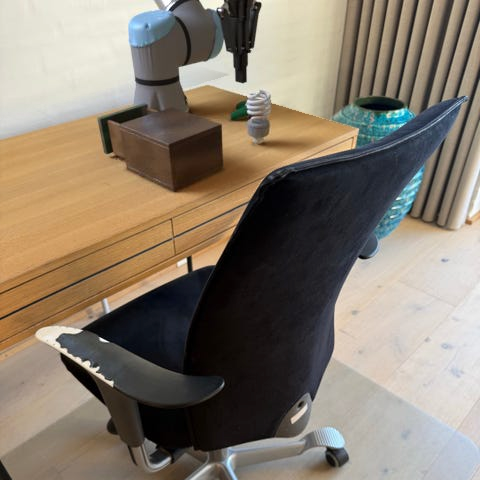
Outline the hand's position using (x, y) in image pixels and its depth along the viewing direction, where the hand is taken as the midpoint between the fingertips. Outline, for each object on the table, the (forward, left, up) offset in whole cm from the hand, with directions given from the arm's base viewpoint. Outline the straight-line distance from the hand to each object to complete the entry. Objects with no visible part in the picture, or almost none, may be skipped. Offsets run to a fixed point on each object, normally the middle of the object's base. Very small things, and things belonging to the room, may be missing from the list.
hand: (241, 81), depth 122 cm
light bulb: (+15, -10, -9) cm, 21 cm away
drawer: (-1, -33, -8) cm, 34 cm away
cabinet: (+11, -33, -9) cm, 36 cm away
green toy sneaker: (-1, +2, -9) cm, 9 cm away
